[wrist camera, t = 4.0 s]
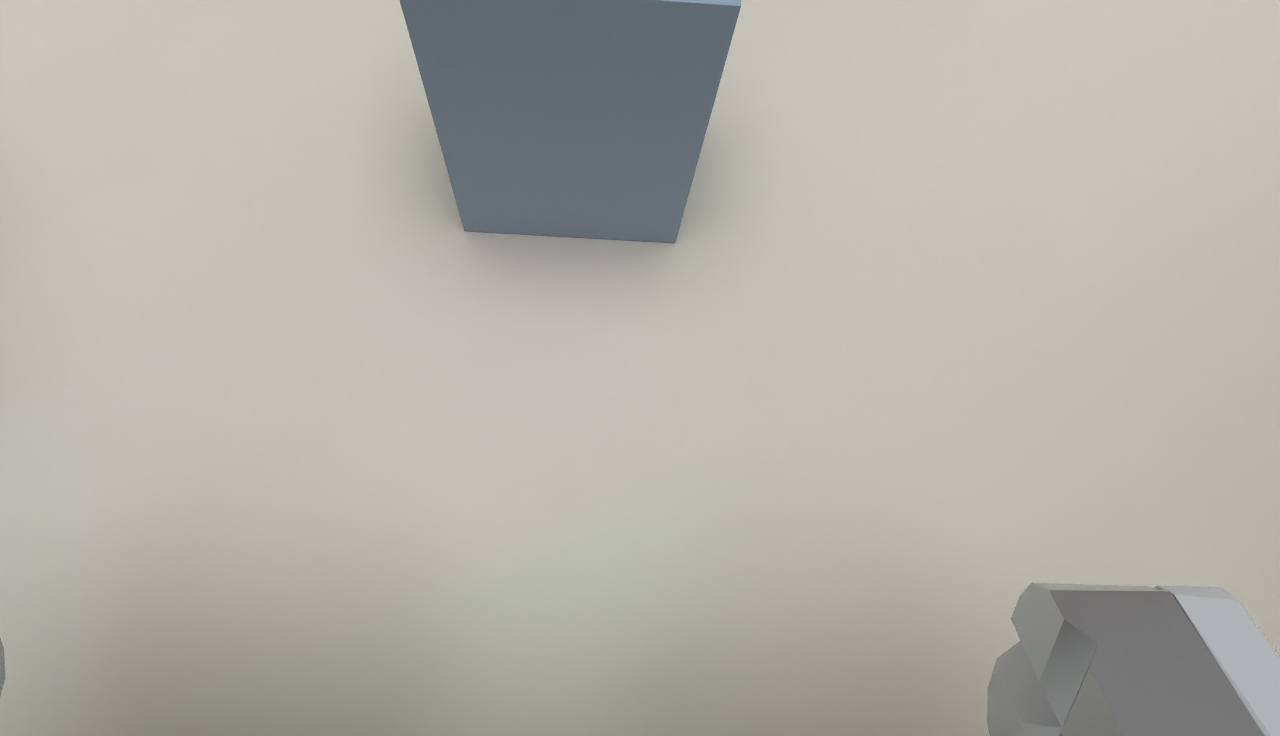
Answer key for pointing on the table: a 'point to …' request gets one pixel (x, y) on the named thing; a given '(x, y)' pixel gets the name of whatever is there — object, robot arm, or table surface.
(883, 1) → the table surface
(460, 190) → the grey post
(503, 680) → the table surface
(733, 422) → the table surface
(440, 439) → the table surface
